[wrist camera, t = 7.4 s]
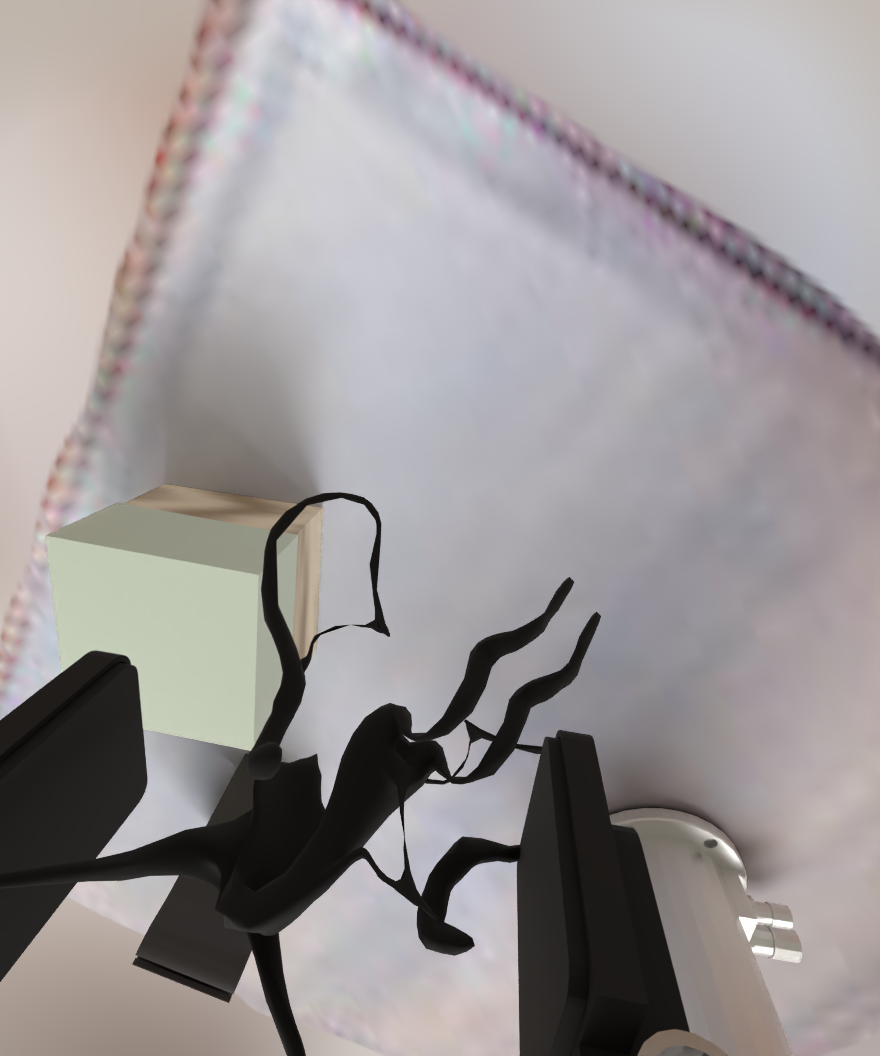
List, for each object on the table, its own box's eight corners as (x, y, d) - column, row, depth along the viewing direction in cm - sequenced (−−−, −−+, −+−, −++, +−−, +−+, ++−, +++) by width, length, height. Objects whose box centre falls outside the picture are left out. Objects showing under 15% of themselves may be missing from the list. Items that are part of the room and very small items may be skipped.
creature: (423, 397, 10) (89, 672, 10) (446, 379, 4) (-239, 944, 5) (668, 710, 11) (364, 933, 12) (903, 976, 6) (332, 1349, 7)
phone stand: (247, 751, 41) (150, 912, 30) (321, 783, 41) (253, 954, 30) (215, 829, 44) (117, 1001, 33) (284, 859, 45) (211, 1038, 33)
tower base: (324, 506, 34) (295, 535, 29) (318, 645, 38) (291, 691, 33) (167, 482, 35) (114, 507, 30) (176, 622, 38) (130, 663, 33)
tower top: (298, 535, 29) (258, 575, 25) (289, 690, 33) (253, 751, 28) (117, 502, 30) (45, 535, 25) (128, 659, 33) (66, 713, 29)
